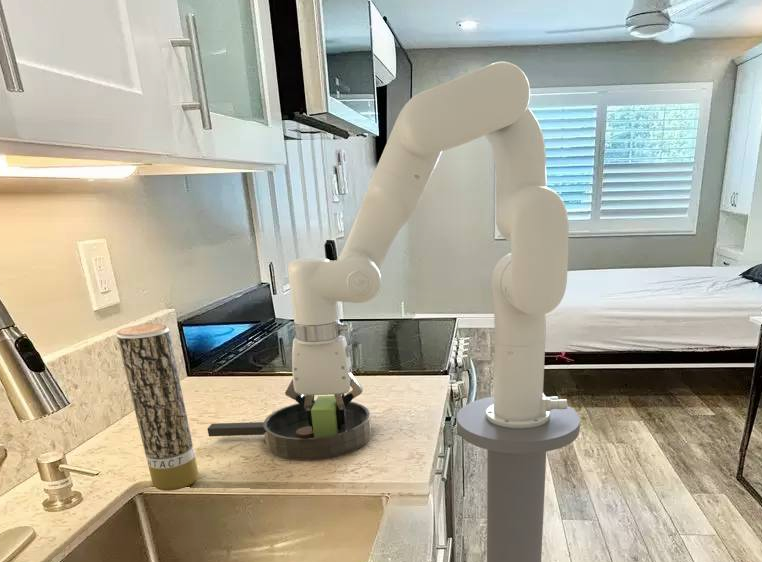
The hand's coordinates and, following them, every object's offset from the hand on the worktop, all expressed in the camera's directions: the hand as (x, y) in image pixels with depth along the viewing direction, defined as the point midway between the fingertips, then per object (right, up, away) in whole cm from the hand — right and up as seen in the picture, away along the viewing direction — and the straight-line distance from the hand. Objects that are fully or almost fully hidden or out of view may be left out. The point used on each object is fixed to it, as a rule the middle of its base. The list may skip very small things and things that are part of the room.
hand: (328, 426), depth 106 cm
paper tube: (-21, -9, -14) cm, 27 cm away
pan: (-2, -2, +1) cm, 3 cm away
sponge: (0, -1, 0) cm, 1 cm away
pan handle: (-17, -1, 0) cm, 17 cm away
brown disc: (-4, -2, 0) cm, 4 cm away
